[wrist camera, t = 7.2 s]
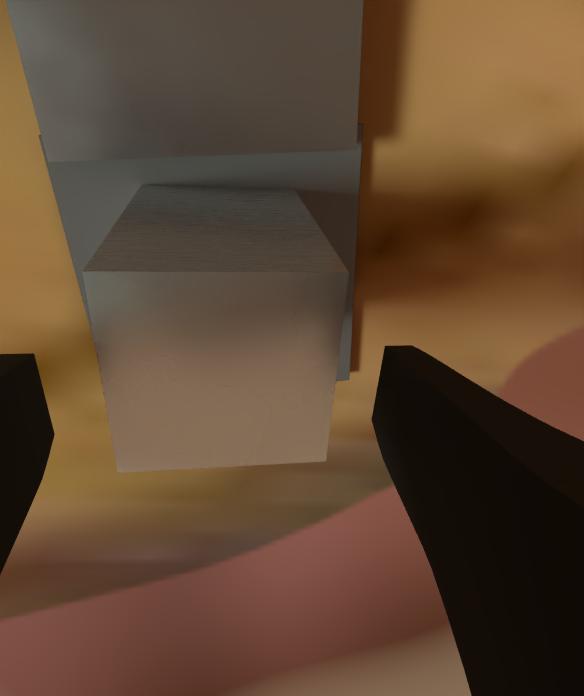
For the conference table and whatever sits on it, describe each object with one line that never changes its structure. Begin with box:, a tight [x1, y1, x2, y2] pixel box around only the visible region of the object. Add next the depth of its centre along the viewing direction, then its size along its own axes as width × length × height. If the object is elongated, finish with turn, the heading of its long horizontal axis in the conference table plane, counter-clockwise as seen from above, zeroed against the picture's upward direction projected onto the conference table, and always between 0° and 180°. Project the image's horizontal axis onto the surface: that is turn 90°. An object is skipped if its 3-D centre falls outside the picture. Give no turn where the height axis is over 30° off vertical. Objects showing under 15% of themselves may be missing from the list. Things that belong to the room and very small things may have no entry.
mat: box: [39, 123, 363, 381], centre depth 16 cm, size 9×9×1 cm
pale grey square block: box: [82, 185, 349, 473], centre depth 12 cm, size 4×4×7 cm
